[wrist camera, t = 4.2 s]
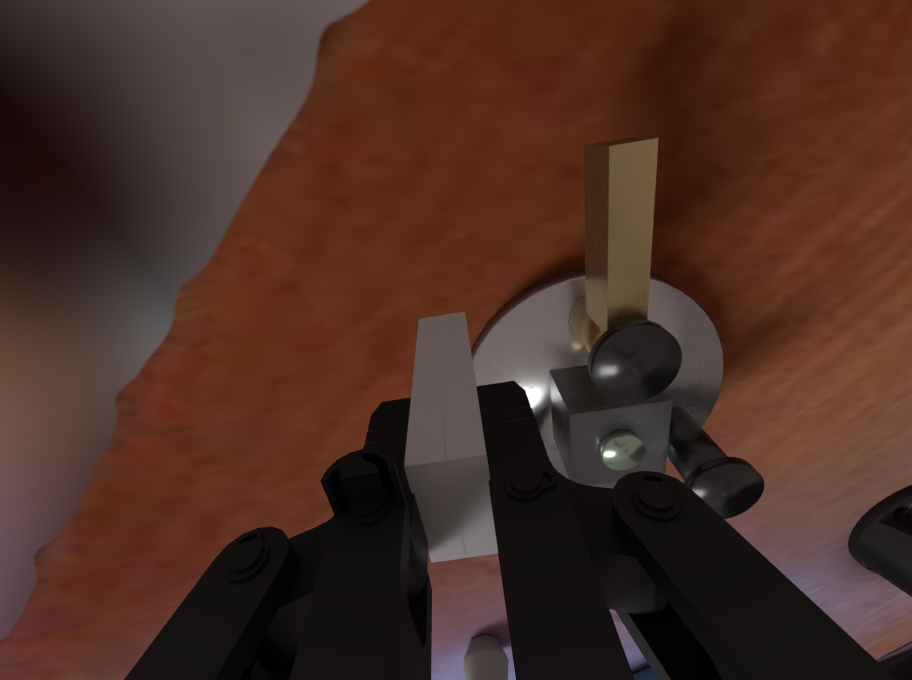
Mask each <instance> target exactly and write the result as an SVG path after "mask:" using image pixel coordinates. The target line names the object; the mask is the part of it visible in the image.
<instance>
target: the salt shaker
mask: <svg viewBox="0 0 912 680" xmlns="http://www.w3.org/2000/svg"><path fill="white" fill-rule="evenodd" d="M464 672H465V677H466V680H508V658H507V656H506V654H505V652H504V651H503V649H502V647H501V646H500V644H499V642H498V640H497V638H496V637H493V636H488V635H481V636H478V637H475V638H472V639H471V642H470V644H469V647H468V650H467V652H466V655H465V657H464Z"/></svg>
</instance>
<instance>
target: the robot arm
mask: <svg viewBox="0 0 912 680" xmlns="http://www.w3.org/2000/svg"><path fill="white" fill-rule="evenodd" d="M321 484H322V486H323V488H324V491H325V493H326V495H327V498H328V500H329V502H330V505H331V507H332V510H333V512H334V516H333V517H332V518H331V519H330V520H328V521H327V522H325V523H323V524H321V525H319V526H317V527H315V528H313V529H310V530H308V531H306V532H303V533H301V534H299V535H296V536H294V537H292V538H289V539H288V537H287V536H286V535H285V533H284V532H283V531H282V530H281V529H278V528H274V527H263V528H257V529H254V530H252V531H250V532H247V533H245V534H243V535H241V536H240V537H238V538H237V539H235V540H234V541H232V542H231V543H230V544H228V545H227V546H226V547H225V548H224V550H223V551H222V552H221V553H220V554H219V555H218V556H217V557H216V558H215V559H214V561H213V562H212V563H211V565H210V566H209V567H208V569H207V570H206V571H205V573H204V574H203V575H202V577H201V578H200V579H199V581H198V582H197V583H196V585H195V586H194V587H193V589H192V590H191V591H190V593H189V594H188V595H187V597H186V598H185V599H184V601H183V602H182V603H181V605H180V606H179V607H178V609H177V610H176V611H175V613H174V614H173V615H172V617H171V618H170V619H169V621H168V622H167V623H166V625H165V626H164V627H163V629H162V630H161V631H160V633H159V634H158V635H157V637H156V638H155V639H154V641H153V642H152V643H151V645H150V646H149V647H148V649H147V650H146V651H145V653H144V654H143V655H142V657H141V658H140V659H139V661H138V662H137V663H136V665H135V666H134V667H133V669H132V670H131V671H130V673H129V674H128V675H127V677H126V678H125V679H124V680H431V632H432V588H431V583H430V578H429V575H428V572H427V562H428V552H429V555H430V559H431V562H439V561H447V560H454V559H461V558H468V557H475V556H483V555H490V554H497V553H498V555H499V562H500V569H501V576H502V583H503V590H504V597H505V604H506V611H507V618H508V625H509V633H510V640H511V647H512V654H513V661H514V668H515V675H516V680H634V677H633V675H632V672H631V669H630V666H629V664H628V661H627V658H626V655H625V652H624V650H623V647H622V644H621V641H620V638H619V636H618V633H617V630H616V627H615V625H614V622H613V619H612V616H611V613H610V611H609V609H613V610H616V612H617V614H618V616H619V617H620V619H621V620H622V622H623V624H624V625H625V627H626V628H627V630H628V632H629V633H630V635H631V636H632V638H633V640H634V641H635V643H636V644H637V646H638V648H639V649H640V651H641V652H642V654H643V656H644V657H645V659H646V660H647V662H648V664H649V665H650V667H651V668H652V670H653V672H654V673H655V675H656V676H657V678H658V680H912V648H910V649H907V650H905V651H903V652H900V653H898V654H895V655H893V656H891V657H888V658H886V659H883V660H881V661H879V662H877V661H876V660H875V659H874V658H873V657H872V656H871V655H870V654H869V653H868V652H867V651H865V650H864V649H863V648H862V647H861V646H860V645H859V644H858V643H857V642H856V641H855V640H854V639H852V638H851V637H850V636H849V635H848V634H847V633H846V632H845V631H844V630H843V629H842V628H841V627H840V626H838V625H837V624H836V623H835V622H834V621H833V620H832V619H831V618H830V617H829V616H828V615H827V614H826V613H824V612H823V611H822V610H821V609H820V608H819V607H818V606H817V605H816V604H815V603H814V602H813V601H812V600H810V599H809V598H808V597H807V596H806V595H805V594H804V593H803V592H802V591H801V590H800V589H799V588H797V587H796V586H795V585H794V584H793V583H792V582H791V581H790V580H789V579H788V578H787V577H786V576H785V575H783V574H782V573H781V572H780V571H779V570H778V569H777V568H776V567H775V566H774V565H773V564H772V563H771V562H769V561H768V560H767V559H766V558H765V557H764V556H763V555H762V554H761V553H760V552H759V551H758V550H756V549H755V548H754V547H753V546H752V545H751V544H750V543H749V542H748V541H747V540H746V539H745V538H744V537H742V536H741V535H740V534H739V533H738V532H737V531H736V530H735V529H734V528H733V527H732V526H731V525H730V524H728V523H727V522H726V521H725V520H724V519H723V518H722V517H721V516H720V515H719V514H718V513H717V512H715V511H714V510H713V509H712V508H711V507H710V506H709V505H708V504H707V503H706V502H705V501H704V500H703V499H701V498H700V497H699V496H698V495H697V494H696V493H695V492H694V491H693V490H692V489H691V488H689V487H688V486H686V485H685V484H684V483H682V482H681V481H679V480H678V479H676V478H674V477H671V476H668V475H666V474H663V473H660V472H652V471H639V472H633V473H629V474H627V475H625V476H624V477H622V478H620V479H619V480H618V481H617V483H616V485H615V486H614V488H613V489H611V488H603V487H595V486H588V485H584V484H579V483H576V482H574V481H572V480H569V479H567V478H566V477H564V476H563V475H561V474H560V473H559V472H558V471H557V470H556V469H555V468H554V467H553V465H552V464H551V462H550V460H549V457H548V454H547V451H546V448H545V445H544V443H543V440H542V437H541V434H540V431H539V428H538V425H537V422H536V419H535V417H534V414H533V411H532V408H531V406H530V402H529V399H528V396H527V393H526V390H524V389H523V388H522V387H521V386H520V385H518V384H517V383H516V382H515V381H507V382H501V383H494V384H488V385H481V386H476V380H475V373H474V367H473V361H472V355H471V348H470V342H469V336H468V329H467V323H466V317H465V312H461V313H454V314H448V315H442V316H436V317H429V318H423V319H419V325H418V335H417V345H416V354H415V364H414V374H413V384H412V393H411V398H406V399H399V400H393V401H386V402H382V403H381V404H380V405H379V406H378V408H377V409H376V410H375V411H374V413H373V414H372V415H371V419H370V423H369V427H368V432H367V436H366V440H365V444H364V448H363V449H362V450H358V451H355V452H351V453H349V454H347V455H345V456H343V457H342V458H340V459H338V460H337V461H336V462H334V463H333V464H332V465H331V466H330V467H329V468H328V469H327V470H326V472H325V474H324V475H323V477H322V479H321ZM848 547H849V551H850V554H851V555H852V557H853V558H854V559H855V560H856V561H857V562H858V563H859V564H861V565H862V566H863V567H865V568H866V569H868V570H870V571H871V572H874V573H876V574H879V575H880V576H882V577H883V578H885V579H886V580H888V581H889V582H890V583H892V584H893V585H895V586H896V587H898V588H899V589H901V590H902V591H904V592H905V593H907V594H908V595H910V596H911V597H912V485H911V486H908V487H906V488H903V489H901V490H899V491H897V492H895V493H893V494H892V495H890V496H888V497H886V498H885V499H883V500H882V501H880V502H879V503H877V504H876V505H875V506H873V507H872V508H871V509H870V510H869V511H868V512H866V513H865V514H864V515H863V516H862V518H861V519H860V520H859V521H858V522H857V524H856V525H855V527H854V528H853V530H852V532H851V534H850V537H849V542H848Z"/></svg>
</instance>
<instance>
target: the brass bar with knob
mask: <svg viewBox="0 0 912 680" xmlns="http://www.w3.org/2000/svg"><path fill="white" fill-rule="evenodd" d="M657 154H658V138H623V139H617V140H611V141H606V142H600V143H594V144H588V145H584V202H585V278H586V295H585V296H583V297H581V298H580V299H579V300H577V301H576V302H575V304H574V305H573V307H572V308H571V310H570V314H569V322H570V325H571V327H572V329H573V330H574V332H575V333H576V335H577V336H578V338H579V339H580V340H581V342H582V343H583V345H584V346H585V348H586V349H587V351H588V352H589V357H588V372H589V375H590V377H591V379H592V381H593V382H594V384H595V386H596V387H597V389H598V390H599V391H600V393H601V394H602V395H604V396H605V397H606V398H608V399H610V400H612V401H615V402H619V403H637V402H642V401H645V400H648V399H650V398H652V397H654V396H656V395H658V394H659V393H661V392H662V391H663V390H665V389H666V388H667V387H668V386H669V385H670V384H671V383H672V382H673V380H674V379H675V377H676V376H677V374H678V372H679V370H680V367H681V362H682V351H681V347H680V345H679V343H678V341H677V340H676V338H675V337H674V336H673V335H672V334H671V333H669V332H668V331H667V330H666V329H665V328H663V327H662V326H661V325H659V324H657V323H655V322H652V321H649V320H647V318H648V301H649V285H650V269H651V252H652V236H653V220H654V203H655V187H656V171H657Z"/></svg>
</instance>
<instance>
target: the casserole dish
mask: <svg viewBox="0 0 912 680" xmlns="http://www.w3.org/2000/svg"><path fill="white" fill-rule="evenodd" d="M632 675H633V677H634V680H658V678H657V676H656V675H655V673H654V672H653V670H652V668H651V667H650V668H647V669H644V670H642V671H639V672H637V673H635V674H632Z"/></svg>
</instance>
